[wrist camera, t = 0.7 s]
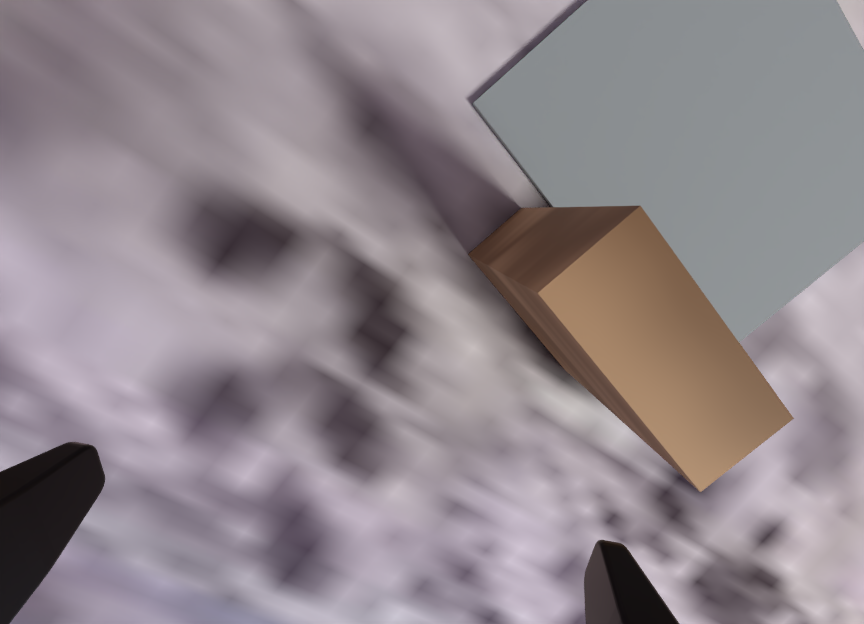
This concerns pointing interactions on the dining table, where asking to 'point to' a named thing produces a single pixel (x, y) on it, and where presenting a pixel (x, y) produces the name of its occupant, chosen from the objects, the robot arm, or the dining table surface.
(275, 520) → the dining table surface
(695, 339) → the walnut block
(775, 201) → the mat
